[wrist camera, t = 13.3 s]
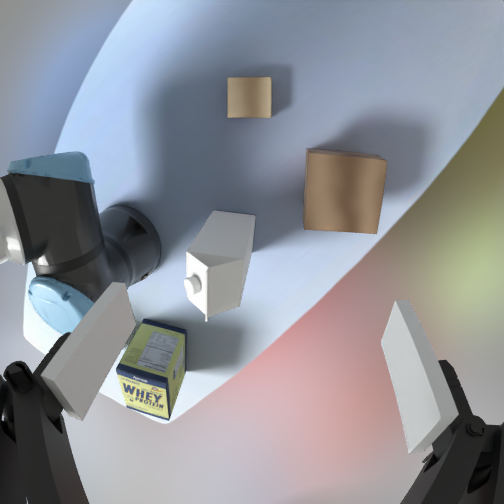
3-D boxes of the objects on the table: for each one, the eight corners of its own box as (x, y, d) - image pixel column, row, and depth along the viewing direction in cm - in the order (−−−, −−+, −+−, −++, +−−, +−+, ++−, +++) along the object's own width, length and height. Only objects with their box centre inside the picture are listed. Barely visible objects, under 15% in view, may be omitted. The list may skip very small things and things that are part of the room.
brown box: (302, 217, 42) (304, 229, 38) (306, 148, 38) (309, 153, 34) (368, 221, 41) (376, 234, 37) (377, 155, 37) (387, 160, 33)
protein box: (148, 361, 69) (126, 408, 55) (143, 317, 62) (114, 367, 48) (186, 372, 69) (169, 422, 55) (187, 328, 62) (165, 383, 48)
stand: (231, 117, 41) (227, 117, 39) (231, 79, 39) (227, 77, 36) (271, 117, 41) (270, 117, 38) (271, 79, 38) (270, 77, 35)
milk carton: (256, 214, 48) (239, 277, 31) (251, 253, 51) (235, 326, 35) (213, 209, 49) (175, 267, 32) (211, 248, 52) (178, 317, 35)
